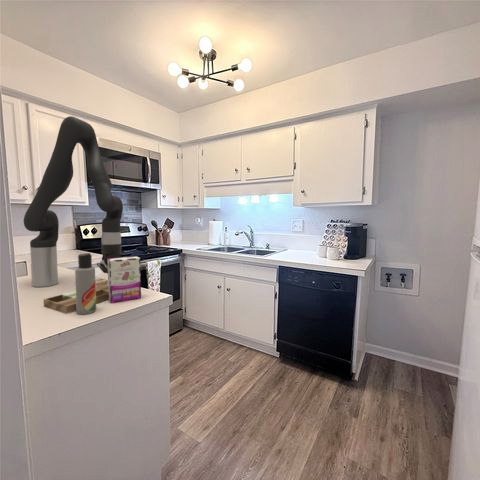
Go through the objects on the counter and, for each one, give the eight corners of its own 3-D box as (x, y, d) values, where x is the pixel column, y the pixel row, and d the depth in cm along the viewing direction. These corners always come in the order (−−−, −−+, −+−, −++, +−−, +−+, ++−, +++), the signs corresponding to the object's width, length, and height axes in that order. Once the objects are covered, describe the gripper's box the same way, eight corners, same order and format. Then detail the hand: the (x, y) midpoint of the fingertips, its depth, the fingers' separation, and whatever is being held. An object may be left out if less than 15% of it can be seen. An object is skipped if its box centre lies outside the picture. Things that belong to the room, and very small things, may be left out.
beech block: (88, 288, 104) (88, 280, 103) (99, 285, 108) (99, 278, 108) (96, 290, 102) (96, 282, 101) (107, 287, 106) (107, 280, 106)
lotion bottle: (98, 311, 87) (97, 253, 85) (79, 316, 83) (77, 255, 81) (92, 307, 91) (91, 251, 89) (74, 311, 87) (72, 253, 84)
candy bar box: (137, 295, 105) (137, 255, 104) (141, 298, 101) (141, 257, 100) (107, 299, 99) (107, 258, 97) (110, 303, 95) (109, 260, 93)
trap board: (43, 306, 90) (43, 299, 90) (100, 289, 110) (100, 284, 110) (66, 313, 85) (66, 306, 84) (122, 295, 104) (122, 289, 104)
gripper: (118, 240, 117) (118, 277, 119) (91, 243, 105) (92, 284, 107) (130, 241, 114) (130, 279, 116) (103, 244, 102) (104, 287, 104)
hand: (112, 281), depth 111 cm, fingers closed
